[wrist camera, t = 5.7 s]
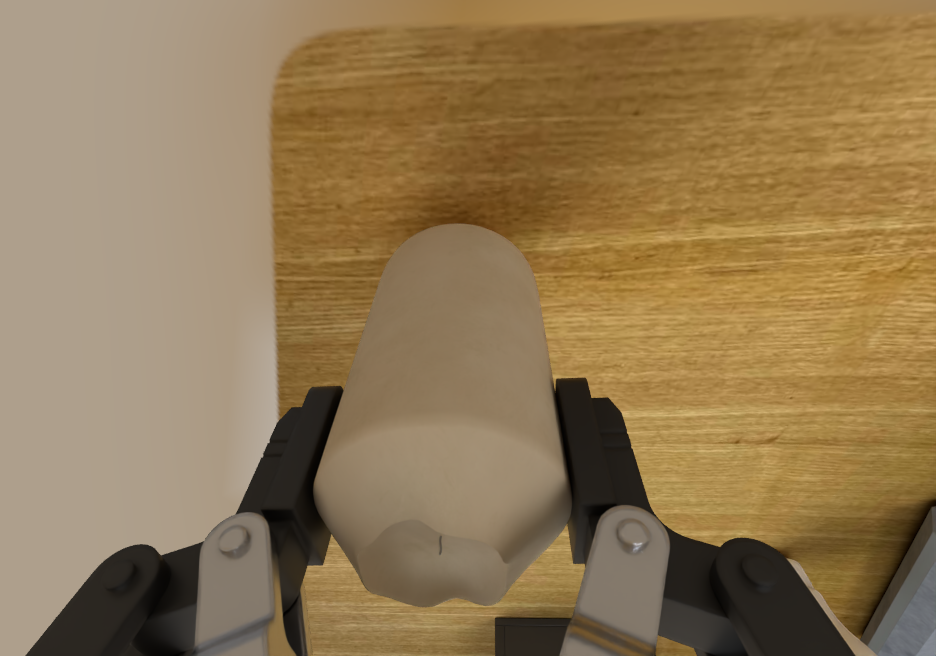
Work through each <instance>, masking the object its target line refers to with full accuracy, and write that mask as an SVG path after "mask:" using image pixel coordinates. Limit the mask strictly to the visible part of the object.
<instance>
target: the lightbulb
mask: <svg viewBox="0 0 936 656" xmlns="http://www.w3.org/2000/svg"><path fill="white" fill-rule="evenodd" d="M786 559H787V560H788V561H789V562H790V563H791V565H792V566H793V567H794V569H795V570H796V572H797V573H798V574H799V576H800V577H801V579H802V580H803V582H804V583H805V584H806V586H807V587H808V589H809V590H810V591H811V593H812V594H813V596H814V597H815V599H816V600H817V601H818V603H819V604H820V606H821V607H822V609H823V610H824V611H825V613H826V614H827V616H828V617H829V619H830V620H831V621H832V623H833V624H834V626H835V627H836V628H837V630H838V631H839V633H840V634H841V636H842V637H843V638H844V640H845V641H846V643H847V644H848V646H849V647H850V648H851V650H852V651H853V653H854V654H855V655H856V656H877V655H876V654H875V653H874V652H873V651H872V650H871V649H870V648H869V647H867V646H866V645H865V644H864V643H863V642H861V641H860V640H859V639H858V638H857V637H855V636H854V635H853V634H852V633H851V632H850V631H849V630H848V629H847V628H846V627H845V626H844V625H843V624H842V623H841V622H840V621H839V620H838V619H837V617H836V616H835V615H834V613H833V612H832V611H831V609H830V608H829V607H828V605H827V603H826V602H825V600H824V598H823V597H822V595H821V594H820V593H819V592H818V591H817V590H815V589H814V588H813V586H812V583H811V582H810V580H809V579H808V576H807V575H806V574H805V571H804V570H803V568H802V567H801V565H800V563H798V562H797V561H795V560H793V559H788V558H786Z"/></svg>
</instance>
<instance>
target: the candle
mask: <svg viewBox="0 0 936 656" xmlns="http://www.w3.org/2000/svg"><path fill="white" fill-rule="evenodd" d="M313 496H314V503H315V506H316V508H317V511H318V513H319V515H320V516H321V518H322V520H323V521H324V523H325V525H326V526H327V528H328V529H329V531H330V532H331V534H332V535H333V537H334V538H335V540H336V541H337V543H338V544H339V546H340V547H341V549H342V550H343V552H344V553H345V554H346V556H347V557H348V559H349V561H350V562H351V564H352V565H353V567H354V568H355V570H356V572H357V574H358V575H359V577H360V579H361V581H362V583H363V585H364V586H365V588H366V589H367V590H368V591H370V592H371V593H373V594H377V595H381V596H385V597H389V598H392V599H394V600H397V601H400V602H403V603H406V604H409V605H413V606H418V607H432V606H436V605H438V604H440V603H443V602H445V601H448V600H451V599H454V598H459V599H465V600H468V601H471V602H473V603H476V604H480V605H484V606H489V605H494V604H496V603H498V602H499V601H500V600H501V599H502V598H503V596H504V595H505V594H506V592H507V591H508V590H509V588H510V587H511V586H512V584H513V583H514V582H515V581H516V580H517V579H518V578H519V576H520V575H521V574H522V573H523V572H524V571H525V570H526V569H527V568H528V567H529V566H530V565H531V564H532V563H533V562H534V561H535V560H536V559H537V558H538V557H539V556H540V555H541V554H542V553H543V552H544V551H545V550H546V549H547V548H548V547H549V546H550V545H551V544H552V542H553V541H554V540H555V539H556V538H557V537H558V536H559V534H560V533H561V532H562V531H563V529H564V528H565V526H566V524H567V523H568V520H569V518H570V515H571V509H572V491H571V485H570V479H569V473H568V467H567V461H566V455H565V449H564V443H563V437H562V431H561V425H560V419H559V413H558V407H557V401H556V395H555V389H554V383H553V377H552V371H551V365H550V359H549V353H548V347H547V341H546V335H545V329H544V323H543V317H542V311H541V305H540V299H539V294H538V289H537V284H536V280H535V276H534V274H533V272H532V269H531V267H530V265H529V263H528V262H527V260H526V258H525V257H524V255H523V254H522V253H521V252H520V250H519V249H518V248H517V247H516V246H515V245H514V244H512V243H511V242H510V241H509V240H507V239H506V238H504V237H503V236H501V235H500V234H498V233H496V232H494V231H491V230H489V229H486V228H483V227H479V226H475V225H469V224H445V225H438V226H435V227H431V228H428V229H425V230H423V231H421V232H419V233H417V234H415V235H413V236H412V237H410V238H409V239H408V240H406V241H405V242H404V243H402V245H401V246H400V247H399V248H398V249H397V250H396V251H395V252H394V254H393V255H392V257H391V258H390V259H389V261H388V263H387V265H386V267H385V269H384V271H383V274H382V276H381V279H380V282H379V285H378V288H377V291H376V294H375V297H374V300H373V303H372V306H371V309H370V312H369V315H368V318H367V321H366V324H365V327H364V330H363V333H362V337H361V340H360V343H359V346H358V349H357V352H356V355H355V358H354V361H353V364H352V367H351V370H350V373H349V376H348V379H347V382H346V385H345V388H344V391H343V394H342V398H341V401H340V404H339V407H338V410H337V413H336V416H335V419H334V422H333V425H332V428H331V431H330V434H329V437H328V440H327V443H326V446H325V449H324V453H323V456H322V459H321V462H320V465H319V468H318V471H317V474H316V478H315V481H314V486H313Z"/></svg>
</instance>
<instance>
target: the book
mask: <svg viewBox="0 0 936 656" xmlns="http://www.w3.org/2000/svg"><path fill="white" fill-rule="evenodd" d="M860 641H861V642H863V643H864V644H865V645H866V646H867V647H869V648H870V649H871V650H872V651H873V652H874V653H875V654H876V655H877V656H936V507H931V509H930V511H929V513H928V515H927V517H926V519H925V520H924V522H923V524H922V526H921V528H920V530H919V532H918V533H917V535H916V537H915V539H914V541H913V543H912V545H911V546H910V548H909V550H908V552H907V554H906V556H905V557H904V559H903V561H902V563H901V565H900V567H899V569H898V570H897V572H896V574H895V576H894V578H893V580H892V582H891V583H890V585H889V587H888V589H887V591H886V593H885V595H884V596H883V598H882V600H881V602H880V604H879V606H878V607H877V609H876V611H875V613H874V615H873V617H872V619H871V620H870V622H869V624H868V626H867V628H866V630H865V632H864V633H863V635H862V637H861V639H860Z"/></svg>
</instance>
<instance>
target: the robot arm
mask: <svg viewBox="0 0 936 656" xmlns="http://www.w3.org/2000/svg"><path fill="white" fill-rule="evenodd" d="M343 391H344V390H343V388H342V387H341V386H324V387H311V388H310V390H309V391H308V394H307V396H306V398H305V401H304V403H303V406H302V407H292V408H291V409H290V410H289V411H288V412H287V413H286V414H285V415H284V416H283V417H282V418H281V419H280V420H279V421H278V423H277V424H276V427H275V429H274V431H273V433H272V436H271V438H270V443H268V445H267V447H266V449H265V451H264V453H263V455H264V456H263V458H261V460H260V462H259V464H258V467H257V469H256V471H255V474H254V476H253V478H252V480H251V482H250V484H249V487H248V489H247V491H246V493H245V495H244V498H243V500H242V502H241V504H240V507H239V509H238V511H237V513H236V514H235V515H233V516H231V517H229V518H227V519H225V520H224V521H222V522H221V523H219V524H218V525H217V526H216V527H215V528H214V529H213V530H212V531H211V532H210V533H209V534H208V536H207V537H206V539H205V541H203V542H201V543H199V544H195V545H193V546H189V547H186V548H183V549H180V550H177V551H174V552H171V553H168V554H164V555H160V554H159V553H158V552H157V551H156V550H155V548H153V547H151V546H149V545H143V544H140V545H133V546H130V547H127V548H124V549H122V550H120V551H118V552H116V553H115V554H113V555H112V556H110V557H109V558H107V559H106V560H105V561H104V562H103V563H102V564H100V565H99V566H98V568H97V569H96V570H95V571H94V572H93V573H92V574H91V576H90V577H89V578H88V579H87V581H86V582H85V583H84V584H83V585H82V587H81V588H80V589H79V590H78V592H77V593H76V594H75V595H74V597H73V598H72V599H71V600H70V601H69V603H68V604H67V605H66V607H65V608H64V609H63V610H62V611H61V613H60V614H59V615H58V616H57V617H56V619H55V620H54V621H53V622H52V624H51V625H50V626H49V627H48V629H47V630H46V631H45V632H44V634H43V635H42V636H41V637H40V639H39V640H38V641H37V642H36V643H35V645H34V646H33V647H32V648H31V649H30V651H29V652H28V653H27V655H26V656H313V650H312V642H311V634H310V626H309V617H308V609H307V601H306V593H305V587H304V584H303V579H304V575H305V572H306V568H307V565H323V563H324V560H325V556H326V552H327V548H328V545H329V541H330V537H331V532H330V531H329V529H328V528H327V526H326V525H325V523H324V521H323V520H322V518H321V516H320V515H319V513H318V511H317V508H316V506H315V503H314V496H313V486H314V481H315V478H316V474H317V471H318V468H319V465H320V462H321V459H322V456H323V453H324V449H325V446H326V443H327V440H328V437H329V434H330V431H331V428H332V425H333V422H334V419H335V416H336V413H337V410H338V407H339V404H340V401H341V398H342V394H343ZM555 395H556V401H557V407H558V413H559V419H560V425H561V431H562V437H563V443H564V449H565V455H566V461H567V467H568V473H569V479H570V485H571V491H572V509H571V515H570V518H569V520H568V523H567V524H568V531H569V538H570V544H571V551H572V558H573V564H585V572H584V576H583V580H582V583H581V587H580V591H579V594H578V598H577V602H576V605H575V609H574V612H573V616H572V618H571V620H570V622H569V625H568V628H567V631H566V634H565V638H564V641H563V645H562V648H561V652H560V656H656V643H657V636H658V635H659V636H662V637H665V638H667V639H670V640H673V641H676V642H679V643H681V644H684V645H687V646H690V647H692V648H694V650H695V652H696V654H697V656H856V655H855V654H854V653H853V651H852V650H851V648H850V647H849V646H848V644H847V643H846V641H845V640H844V638H843V637H842V636H841V634H840V633H839V631H838V630H837V628H836V627H835V626H834V624H833V623H832V621H831V620H830V619H829V617H828V616H827V614H826V613H825V611H824V610H823V609H822V607H821V606H820V604H819V603H818V601H817V600H816V599H815V597H814V596H813V594H812V593H811V591H810V590H809V589H808V587H807V586H806V584H805V583H804V582H803V580H802V579H801V577H800V576H799V574H798V573H797V572H796V570H795V569H794V567H793V566H792V565H791V563H790V562H789V561H788V560H787V559H786V558H785V557H784V556H783V555H782V554H781V553H780V552H778V551H777V550H776V549H774V548H773V547H771V546H769V545H767V544H765V543H763V542H761V541H758V540H755V539H750V538H735V539H731V540H729V541H727V542H725V543H724V544H723V545H722V546H721V547H718V546H714V545H711V544H707V543H704V542H700V541H697V540H693V539H690V538H687V537H684V536H682V535H680V534H678V533H676V532H674V531H672V530H671V529H669V528H668V527H667V526H665V525H664V524H663V523H662V522H661V521H660V520H659V519H658V518H657V516H656V515H655V514H654V512H653V511H652V509H651V507H650V504H649V502H648V498H647V495H646V492H645V489H644V485H643V482H642V479H641V475H640V472H639V469H638V466H637V462H636V459H635V456H634V452H633V449H632V448H631V442H630V439H629V436H628V434H627V429H626V426H625V423H624V419H623V416H622V413H621V412H620V410H619V409H618V408H617V407H616V406H615V405H614V404H613V402H612V401H611V400H610V399H609V398H591V395H590V390H589V386H588V382H587V379H586V378H561V379H556V390H555Z"/></svg>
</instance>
